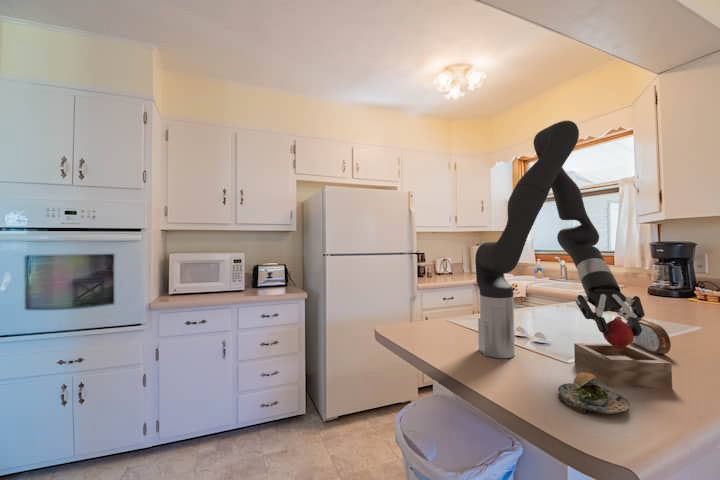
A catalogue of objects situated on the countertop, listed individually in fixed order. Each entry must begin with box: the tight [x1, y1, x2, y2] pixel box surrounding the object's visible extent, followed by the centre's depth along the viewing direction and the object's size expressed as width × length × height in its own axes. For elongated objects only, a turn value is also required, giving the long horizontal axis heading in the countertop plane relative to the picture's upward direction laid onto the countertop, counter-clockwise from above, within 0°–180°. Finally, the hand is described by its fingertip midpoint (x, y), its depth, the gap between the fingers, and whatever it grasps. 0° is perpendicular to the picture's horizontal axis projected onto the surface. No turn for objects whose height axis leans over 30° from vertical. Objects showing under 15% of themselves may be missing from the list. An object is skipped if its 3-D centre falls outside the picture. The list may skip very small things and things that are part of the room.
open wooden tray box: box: [573, 342, 673, 390], centre depth 75 cm, size 13×13×6 cm
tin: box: [625, 318, 672, 355], centre depth 93 cm, size 15×3×8 cm, turn 168°
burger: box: [557, 365, 630, 415], centre depth 62 cm, size 12×12×8 cm
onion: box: [602, 315, 634, 349], centre depth 75 cm, size 6×6×8 cm
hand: (622, 333), depth 74 cm, fingers closed on onion, 5 cm apart
